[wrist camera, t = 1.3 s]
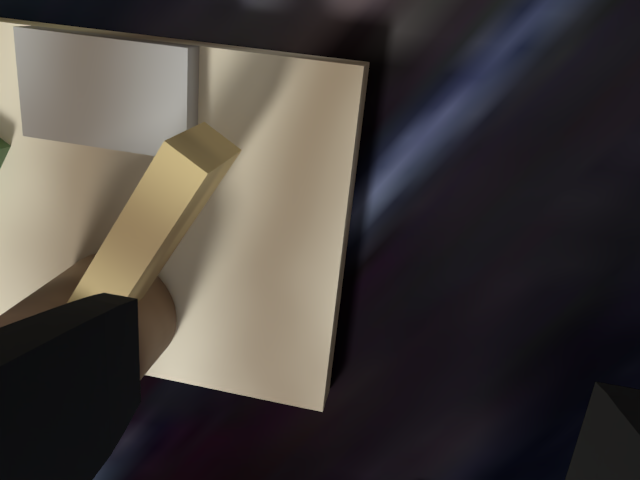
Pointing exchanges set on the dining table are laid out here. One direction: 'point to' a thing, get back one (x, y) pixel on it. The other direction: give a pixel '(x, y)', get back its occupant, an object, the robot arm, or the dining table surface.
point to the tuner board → (220, 210)
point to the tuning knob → (145, 239)
